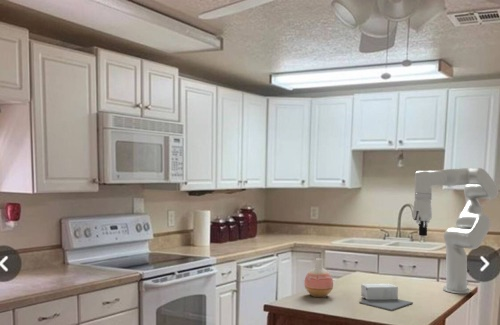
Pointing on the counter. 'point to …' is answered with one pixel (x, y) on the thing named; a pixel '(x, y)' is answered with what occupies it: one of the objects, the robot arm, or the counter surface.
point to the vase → (318, 281)
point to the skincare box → (379, 291)
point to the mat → (387, 304)
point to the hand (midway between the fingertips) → (423, 235)
